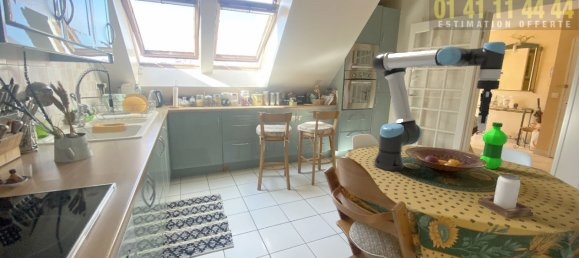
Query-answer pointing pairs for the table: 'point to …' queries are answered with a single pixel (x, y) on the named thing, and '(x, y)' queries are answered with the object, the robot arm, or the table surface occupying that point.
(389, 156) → the robot arm
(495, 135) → the plastic bottle
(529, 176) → the table surface
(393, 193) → the table surface
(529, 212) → the tray
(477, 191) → the table surface
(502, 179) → the can
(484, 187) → the table surface
